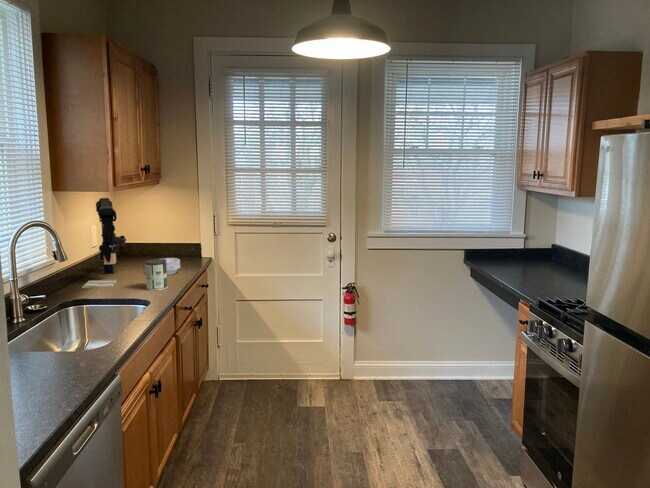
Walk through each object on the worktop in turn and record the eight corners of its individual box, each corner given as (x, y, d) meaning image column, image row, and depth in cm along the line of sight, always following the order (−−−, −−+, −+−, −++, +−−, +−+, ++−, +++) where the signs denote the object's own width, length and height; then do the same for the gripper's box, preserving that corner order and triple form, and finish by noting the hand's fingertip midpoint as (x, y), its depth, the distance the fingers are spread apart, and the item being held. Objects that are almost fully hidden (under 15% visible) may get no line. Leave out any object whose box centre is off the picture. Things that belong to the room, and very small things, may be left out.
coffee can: (158, 284, 269) (157, 258, 266) (172, 287, 263) (170, 260, 261) (141, 288, 260) (140, 261, 258) (155, 291, 255) (153, 263, 252)
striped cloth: (89, 281, 274) (89, 280, 274) (117, 280, 277) (117, 279, 277) (82, 288, 261) (81, 286, 261) (111, 287, 263) (111, 285, 263)
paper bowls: (163, 269, 304) (163, 256, 303) (185, 271, 299) (185, 258, 298) (146, 275, 290) (146, 261, 289) (169, 277, 285) (169, 263, 284)
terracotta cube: (106, 262, 274) (105, 253, 273) (116, 262, 275) (115, 252, 274) (104, 264, 269) (103, 254, 268) (114, 264, 270) (113, 254, 269)
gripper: (121, 233, 262) (123, 264, 264) (127, 229, 280) (129, 257, 283) (97, 234, 260) (99, 265, 262) (105, 229, 278) (107, 258, 280)
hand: (110, 261), depth 272 cm, fingers closed on terracotta cube, 5 cm apart
